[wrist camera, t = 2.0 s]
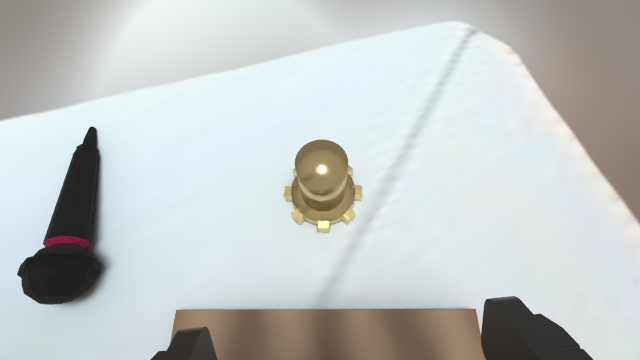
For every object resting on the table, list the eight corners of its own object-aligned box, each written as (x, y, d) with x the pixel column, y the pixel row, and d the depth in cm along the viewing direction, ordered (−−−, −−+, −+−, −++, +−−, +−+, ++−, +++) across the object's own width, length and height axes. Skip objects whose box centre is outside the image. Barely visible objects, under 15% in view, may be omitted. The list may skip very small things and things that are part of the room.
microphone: (97, 149, 40) (65, 314, 30) (49, 123, 35) (-10, 308, 25) (131, 132, 39) (110, 297, 29) (86, 103, 34) (41, 287, 24)
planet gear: (284, 232, 32) (272, 206, 25) (288, 164, 35) (277, 124, 28) (362, 231, 31) (371, 205, 24) (358, 163, 35) (365, 122, 28)
